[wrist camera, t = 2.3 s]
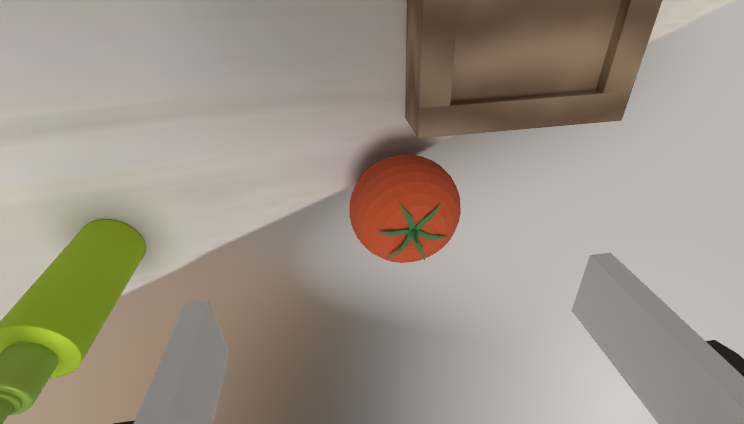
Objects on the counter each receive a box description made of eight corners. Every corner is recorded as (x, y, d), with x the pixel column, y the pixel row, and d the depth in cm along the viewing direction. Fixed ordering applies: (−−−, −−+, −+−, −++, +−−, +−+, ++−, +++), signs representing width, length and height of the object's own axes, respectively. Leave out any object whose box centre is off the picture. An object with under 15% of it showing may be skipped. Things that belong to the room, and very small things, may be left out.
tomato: (462, 176, 39) (503, 231, 31) (397, 240, 43) (417, 305, 34) (392, 116, 35) (418, 163, 26) (325, 193, 38) (329, 256, 30)
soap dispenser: (117, 203, 36) (-54, 409, 19) (157, 256, 39) (45, 466, 23) (58, 220, 36) (-163, 439, 19) (104, 271, 39) (-46, 491, 23)
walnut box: (408, -144, 25) (428, -167, 21) (655, -148, 27) (719, -170, 23) (405, 118, 35) (418, 138, 31) (586, 103, 37) (621, 120, 32)
